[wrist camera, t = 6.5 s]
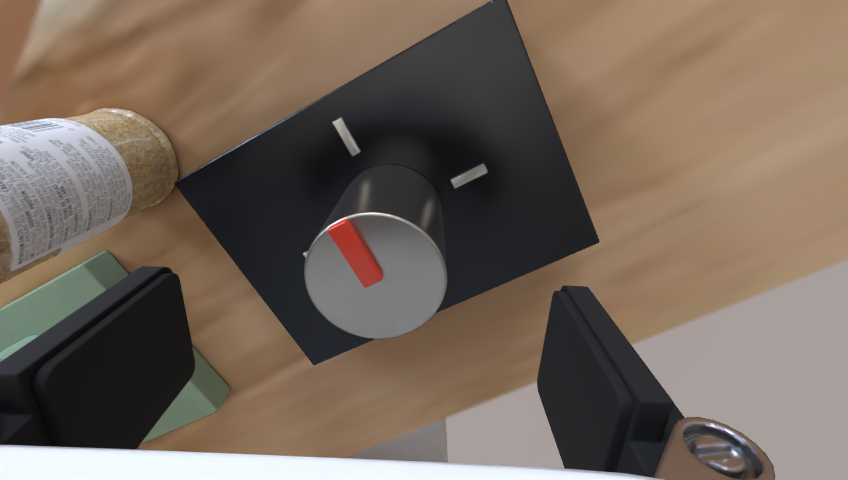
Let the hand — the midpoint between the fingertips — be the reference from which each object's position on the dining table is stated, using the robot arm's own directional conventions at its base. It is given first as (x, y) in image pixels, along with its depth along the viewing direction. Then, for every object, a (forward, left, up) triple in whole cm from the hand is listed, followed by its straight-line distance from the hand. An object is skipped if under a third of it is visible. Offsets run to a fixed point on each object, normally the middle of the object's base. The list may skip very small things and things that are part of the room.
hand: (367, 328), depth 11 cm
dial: (+1, 0, -7) cm, 7 cm away
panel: (+1, 0, -10) cm, 10 cm away
